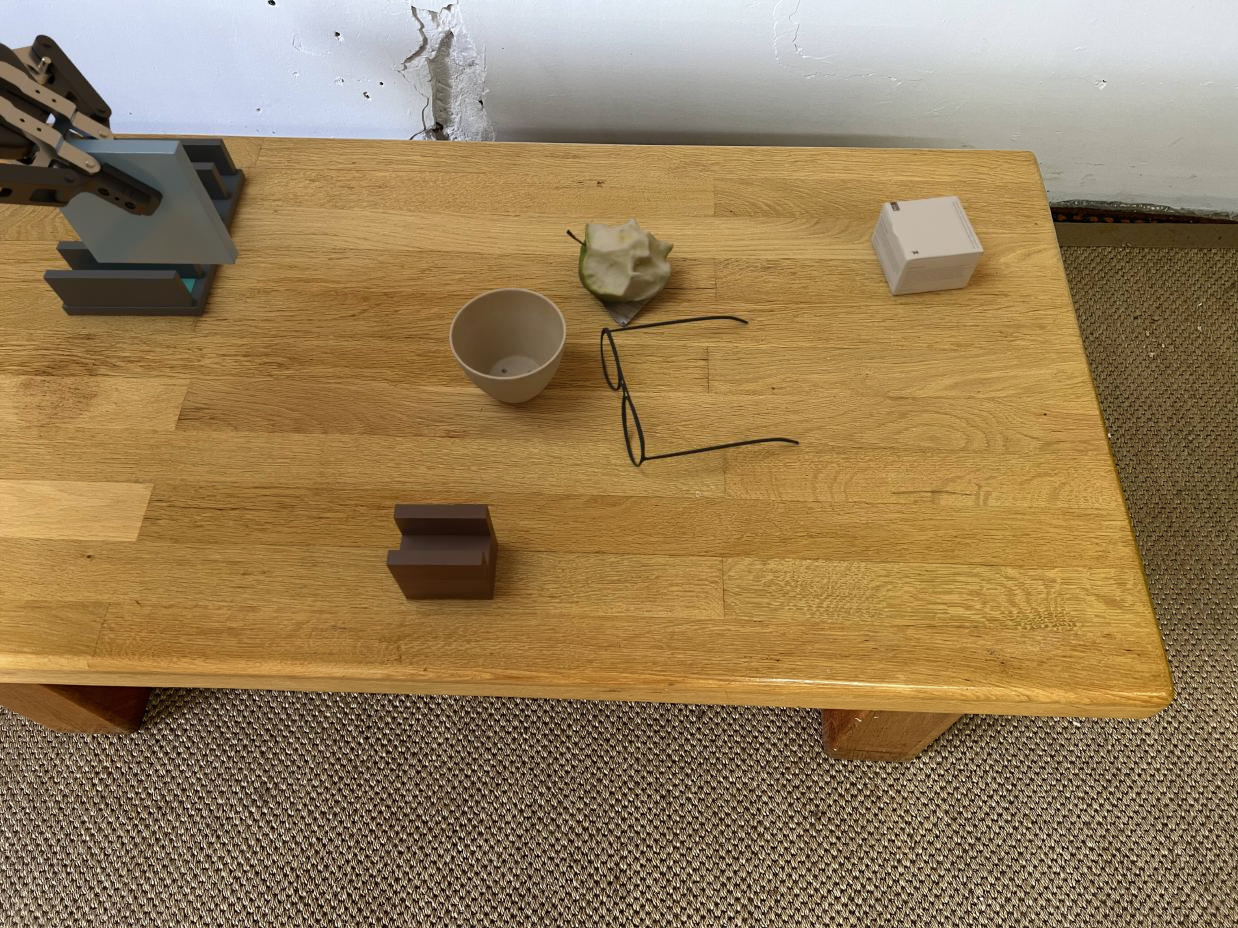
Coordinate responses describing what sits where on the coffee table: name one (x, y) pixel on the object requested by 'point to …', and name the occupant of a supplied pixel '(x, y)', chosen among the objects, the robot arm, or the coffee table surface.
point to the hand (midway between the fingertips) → (160, 196)
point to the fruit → (622, 267)
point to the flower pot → (509, 342)
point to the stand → (444, 552)
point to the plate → (176, 226)
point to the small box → (926, 245)
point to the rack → (151, 283)
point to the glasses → (623, 408)
